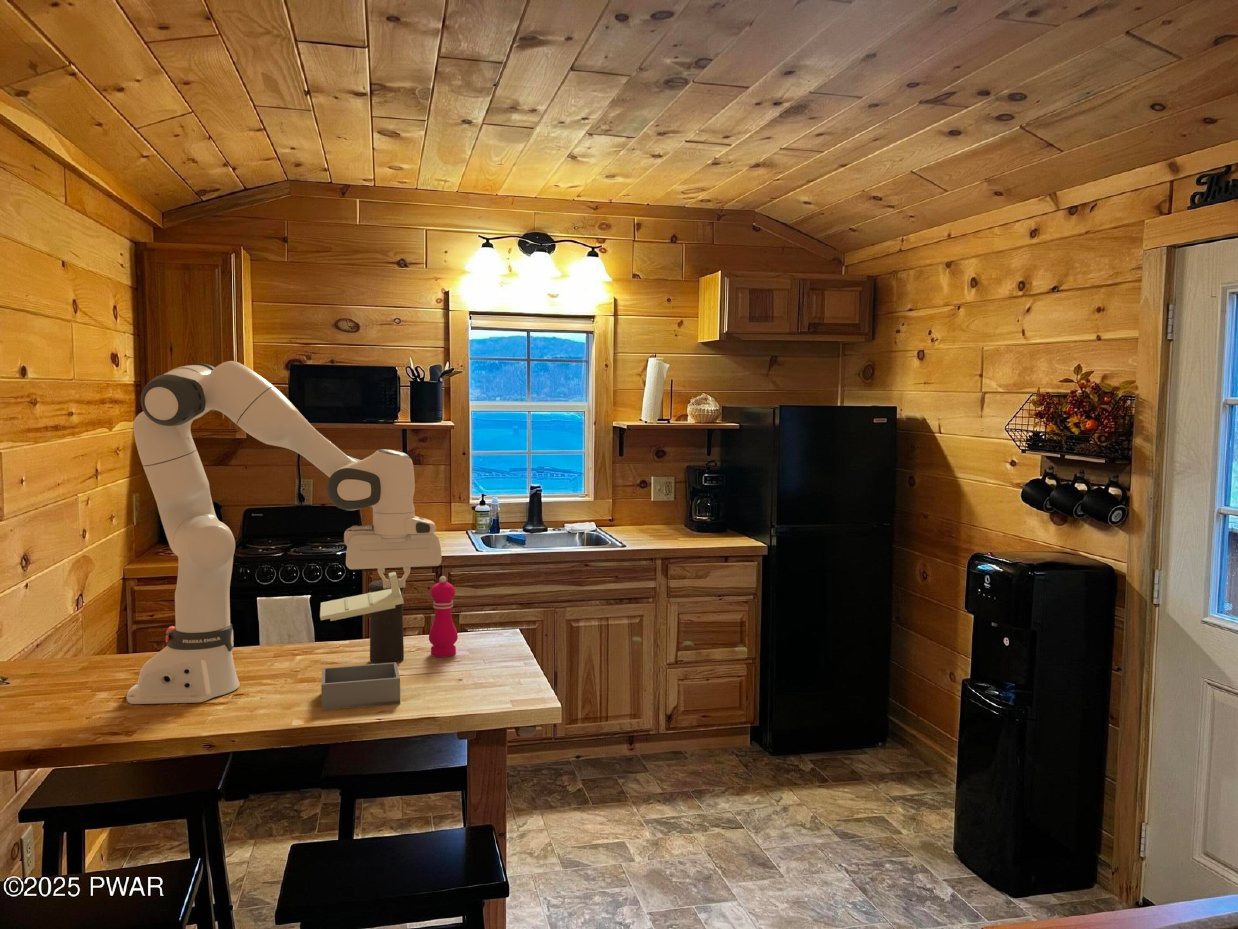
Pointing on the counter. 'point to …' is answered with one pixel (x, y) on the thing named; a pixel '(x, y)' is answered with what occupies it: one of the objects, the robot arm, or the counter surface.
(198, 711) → the counter surface
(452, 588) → the pepper mill
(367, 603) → the lid
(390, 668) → the tub
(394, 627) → the container
